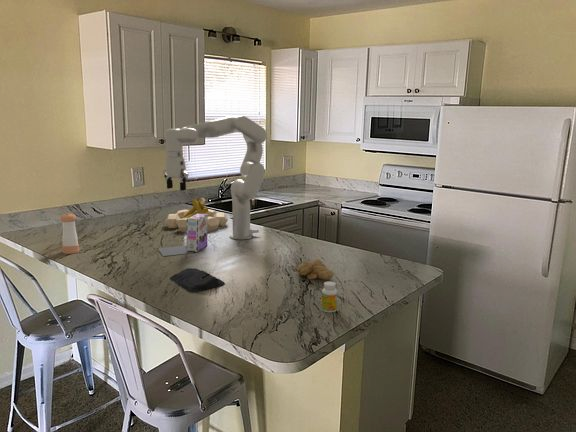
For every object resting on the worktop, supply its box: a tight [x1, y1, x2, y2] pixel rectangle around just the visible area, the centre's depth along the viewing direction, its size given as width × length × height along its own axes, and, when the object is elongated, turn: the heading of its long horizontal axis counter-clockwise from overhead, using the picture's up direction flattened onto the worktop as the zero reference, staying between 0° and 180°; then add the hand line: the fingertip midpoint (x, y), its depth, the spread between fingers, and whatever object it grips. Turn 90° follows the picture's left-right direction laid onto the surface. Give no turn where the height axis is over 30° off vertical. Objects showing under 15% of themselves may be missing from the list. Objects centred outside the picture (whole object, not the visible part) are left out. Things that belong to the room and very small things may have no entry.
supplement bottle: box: [320, 281, 338, 313], centre depth 167 cm, size 5×5×10 cm
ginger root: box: [293, 258, 334, 281], centre depth 201 cm, size 16×16×8 cm
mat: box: [157, 244, 193, 257], centre depth 235 cm, size 14×14×1 cm
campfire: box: [164, 197, 229, 234], centre depth 285 cm, size 35×34×17 cm
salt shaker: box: [59, 212, 80, 255], centre depth 230 cm, size 7×7×19 cm
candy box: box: [186, 214, 208, 253], centre depth 238 cm, size 14×6×16 cm, turn 168°
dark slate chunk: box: [169, 267, 226, 294], centre depth 193 cm, size 15×22×5 cm
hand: (176, 189), depth 239 cm, fingers open, 9 cm apart
